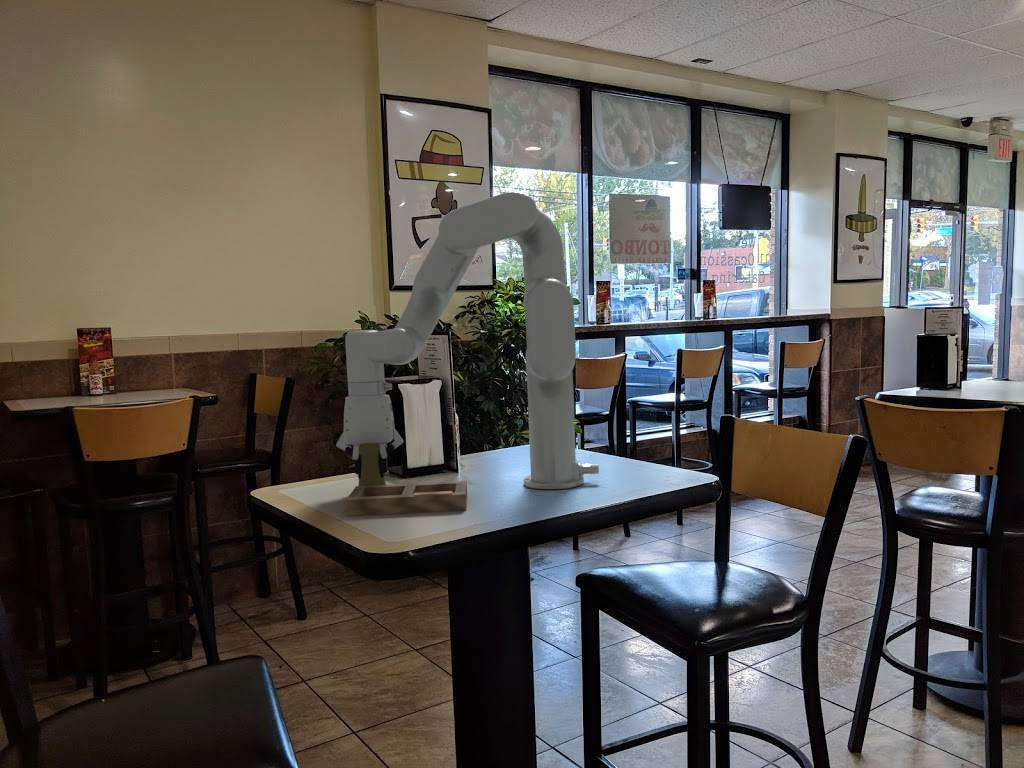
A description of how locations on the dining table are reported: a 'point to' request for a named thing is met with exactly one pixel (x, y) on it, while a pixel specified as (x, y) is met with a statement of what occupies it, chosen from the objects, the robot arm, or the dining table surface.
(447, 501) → the caddy
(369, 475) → the olive tall rounded piece
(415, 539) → the dining table surface
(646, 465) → the dining table surface
